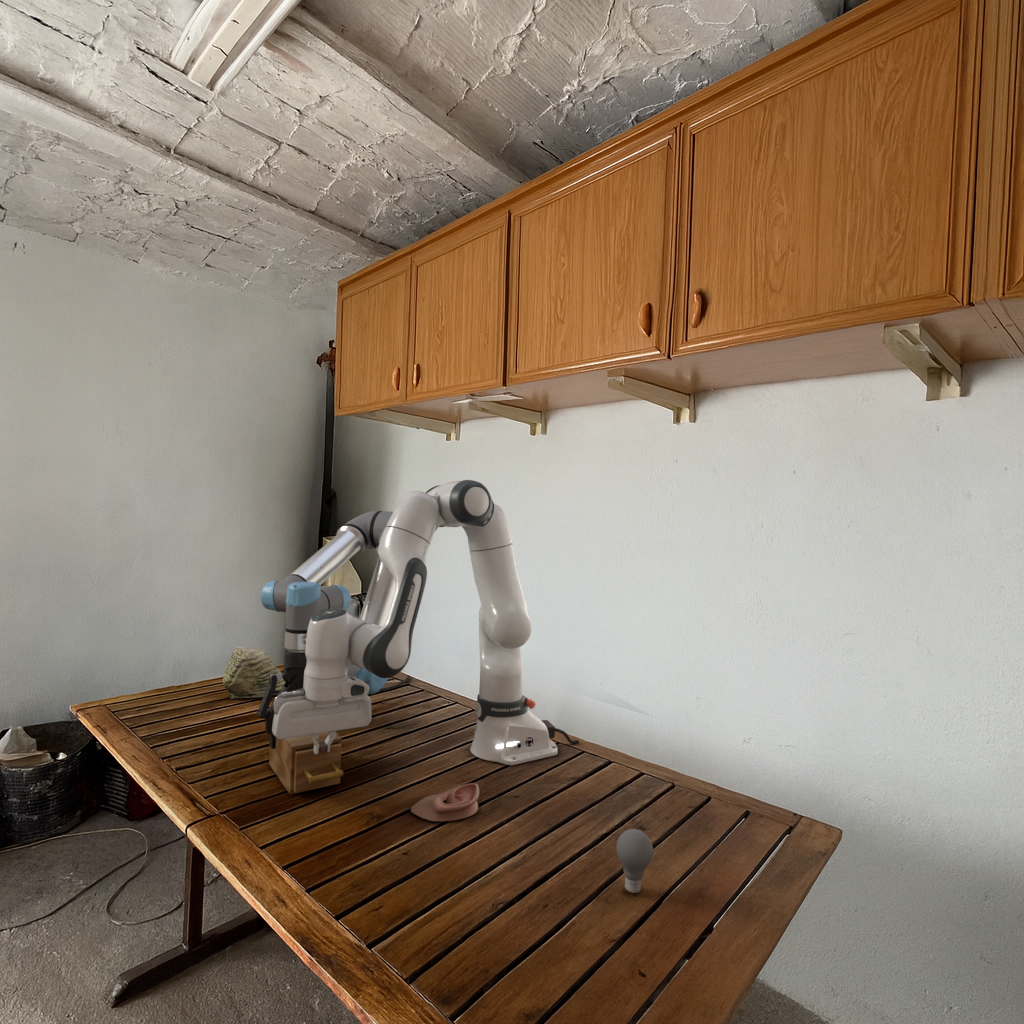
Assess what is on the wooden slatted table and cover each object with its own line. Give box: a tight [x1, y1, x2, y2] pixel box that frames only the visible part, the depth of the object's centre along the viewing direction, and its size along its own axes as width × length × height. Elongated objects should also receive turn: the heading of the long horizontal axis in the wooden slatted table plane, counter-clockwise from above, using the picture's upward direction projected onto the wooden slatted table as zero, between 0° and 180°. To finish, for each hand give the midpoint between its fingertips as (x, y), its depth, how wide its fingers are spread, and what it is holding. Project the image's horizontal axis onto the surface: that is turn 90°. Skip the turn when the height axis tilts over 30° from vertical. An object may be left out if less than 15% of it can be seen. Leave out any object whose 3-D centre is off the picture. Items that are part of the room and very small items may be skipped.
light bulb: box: [615, 828, 654, 894], centre depth 106 cm, size 6×6×10 cm
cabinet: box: [268, 732, 343, 796], centre depth 144 cm, size 18×11×10 cm, turn 35°
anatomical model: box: [410, 782, 480, 822], centre depth 131 cm, size 13×4×12 cm
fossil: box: [222, 646, 285, 699], centre depth 198 cm, size 9×18×15 cm, turn 132°
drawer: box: [294, 743, 344, 794], centre depth 140 cm, size 22×10×8 cm, turn 35°
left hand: (297, 742), depth 148 cm, fingers closed on cabinet, 11 cm apart
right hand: (321, 752), depth 133 cm, fingers closed
